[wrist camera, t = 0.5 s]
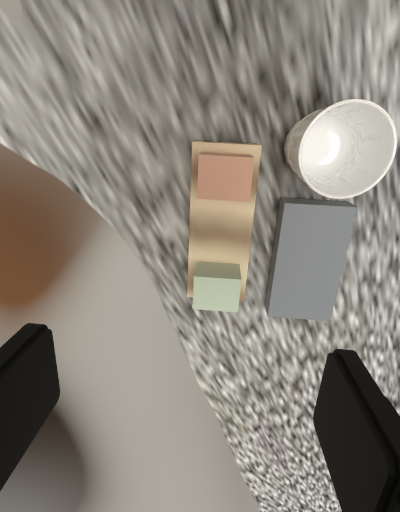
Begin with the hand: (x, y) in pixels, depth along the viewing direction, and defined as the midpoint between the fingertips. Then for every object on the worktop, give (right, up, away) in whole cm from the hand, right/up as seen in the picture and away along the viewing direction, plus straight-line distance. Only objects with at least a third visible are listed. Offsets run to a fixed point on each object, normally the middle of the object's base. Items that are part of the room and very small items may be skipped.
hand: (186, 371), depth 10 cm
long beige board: (+3, +9, +29) cm, 30 cm away
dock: (+14, +4, +30) cm, 33 cm away
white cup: (+13, +17, +25) cm, 32 cm away
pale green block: (+2, +1, +26) cm, 26 cm away
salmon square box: (+3, +13, +22) cm, 25 cm away
